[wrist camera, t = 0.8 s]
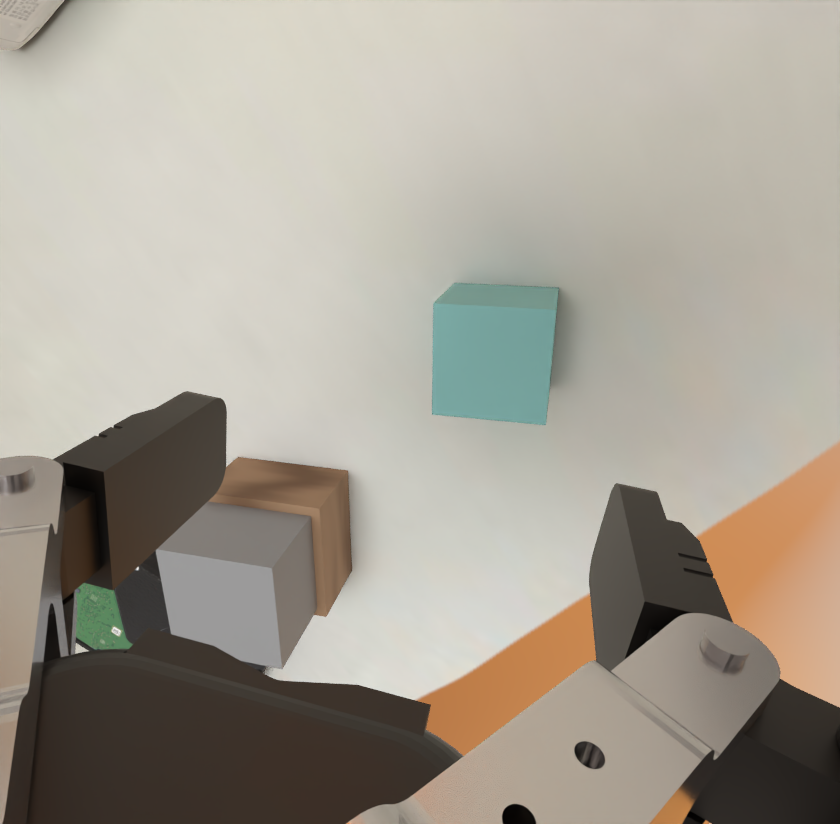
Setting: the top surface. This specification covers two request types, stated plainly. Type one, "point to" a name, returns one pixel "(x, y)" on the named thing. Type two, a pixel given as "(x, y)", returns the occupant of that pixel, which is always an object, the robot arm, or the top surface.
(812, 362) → the top surface
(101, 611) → the disk drive
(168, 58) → the top surface
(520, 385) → the teal block
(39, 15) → the photo printer
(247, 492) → the walnut base
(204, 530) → the slate block
